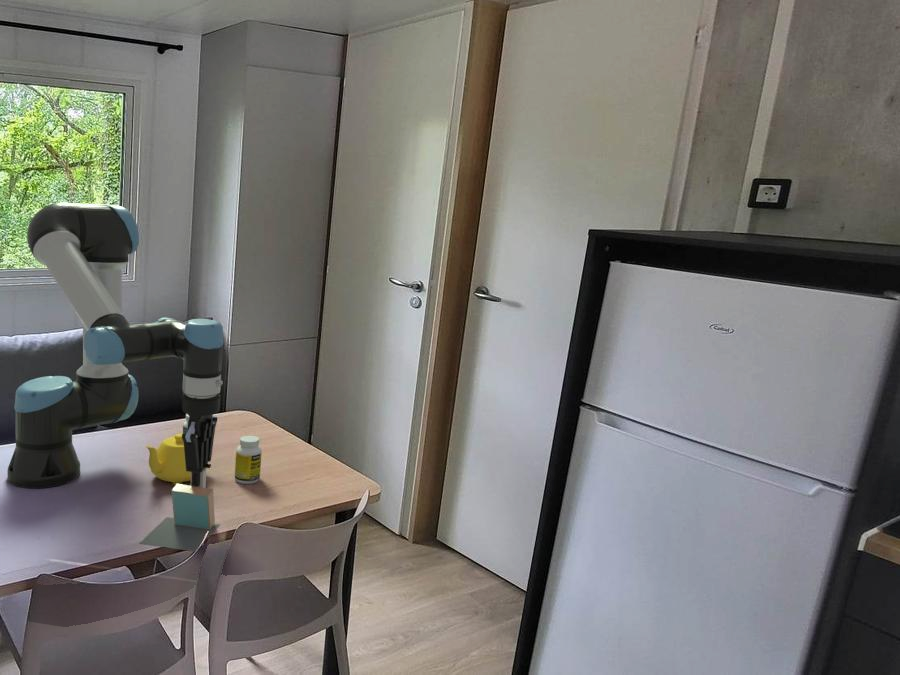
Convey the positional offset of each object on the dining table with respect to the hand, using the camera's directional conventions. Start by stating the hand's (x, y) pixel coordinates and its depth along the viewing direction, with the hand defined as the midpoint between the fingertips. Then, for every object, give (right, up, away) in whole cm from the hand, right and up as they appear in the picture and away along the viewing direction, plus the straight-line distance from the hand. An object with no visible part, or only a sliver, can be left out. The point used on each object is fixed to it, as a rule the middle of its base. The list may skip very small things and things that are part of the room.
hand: (197, 497), depth 154 cm
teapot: (-12, -1, +22) cm, 25 cm away
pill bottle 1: (-17, +4, +44) cm, 48 cm away
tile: (-1, -6, 0) cm, 6 cm away
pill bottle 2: (+3, -2, +26) cm, 27 cm away
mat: (-2, -7, -4) cm, 8 cm away
